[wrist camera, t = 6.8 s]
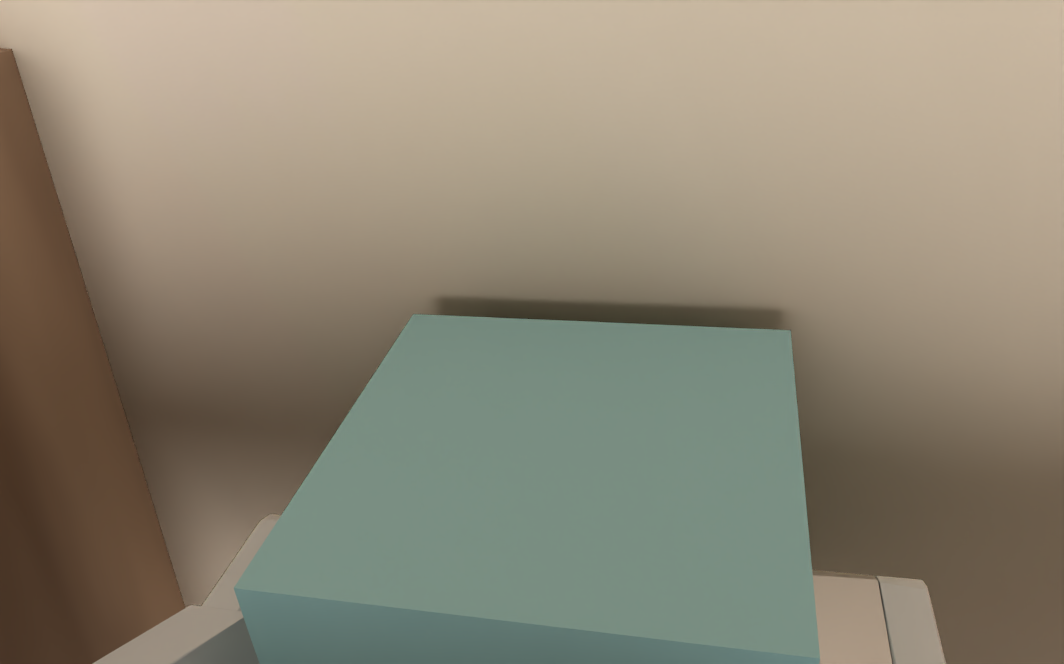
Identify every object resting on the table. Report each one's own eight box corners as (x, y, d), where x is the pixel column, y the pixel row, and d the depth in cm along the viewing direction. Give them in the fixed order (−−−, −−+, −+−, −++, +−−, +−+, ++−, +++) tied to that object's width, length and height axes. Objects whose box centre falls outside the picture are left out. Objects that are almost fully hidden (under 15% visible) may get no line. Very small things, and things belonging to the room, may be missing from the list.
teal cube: (790, 330, 11) (821, 658, 7) (764, 608, 13) (773, 974, 9) (413, 313, 12) (233, 587, 8) (454, 575, 14) (336, 888, 10)
